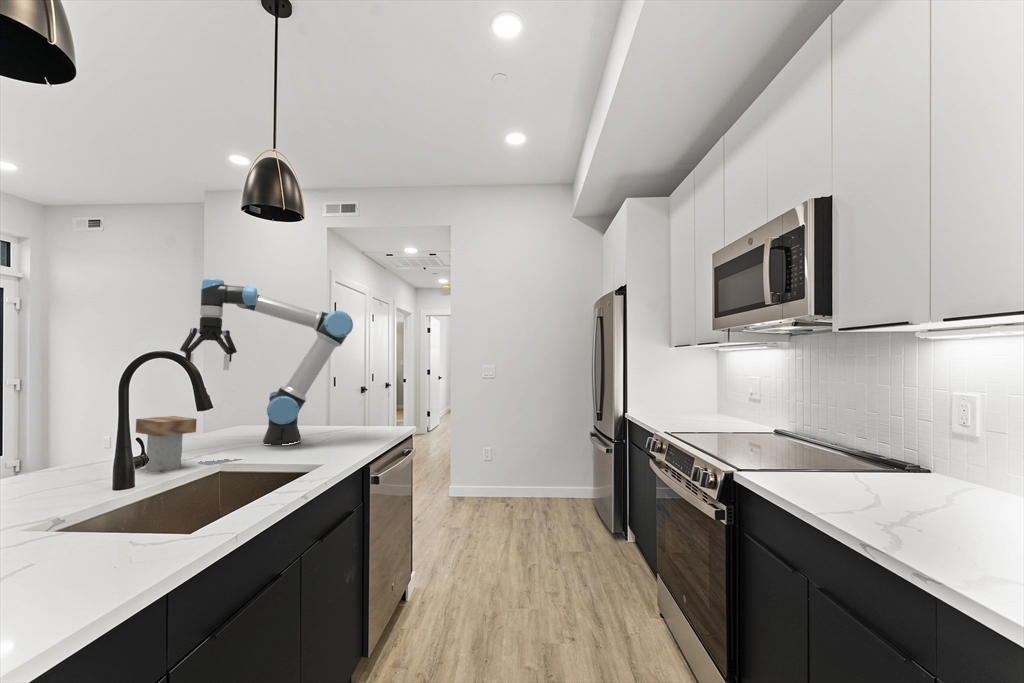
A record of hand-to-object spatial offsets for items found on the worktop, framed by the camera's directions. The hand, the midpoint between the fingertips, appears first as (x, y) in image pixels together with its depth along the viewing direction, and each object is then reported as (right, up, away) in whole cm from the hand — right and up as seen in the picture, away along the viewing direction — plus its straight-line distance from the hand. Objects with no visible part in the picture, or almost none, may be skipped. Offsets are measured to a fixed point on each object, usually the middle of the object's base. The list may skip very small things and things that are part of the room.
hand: (208, 370), depth 183 cm
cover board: (+5, -19, -29) cm, 35 cm away
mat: (+12, -32, -13) cm, 37 cm away
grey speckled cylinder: (+5, -32, -30) cm, 44 cm away
